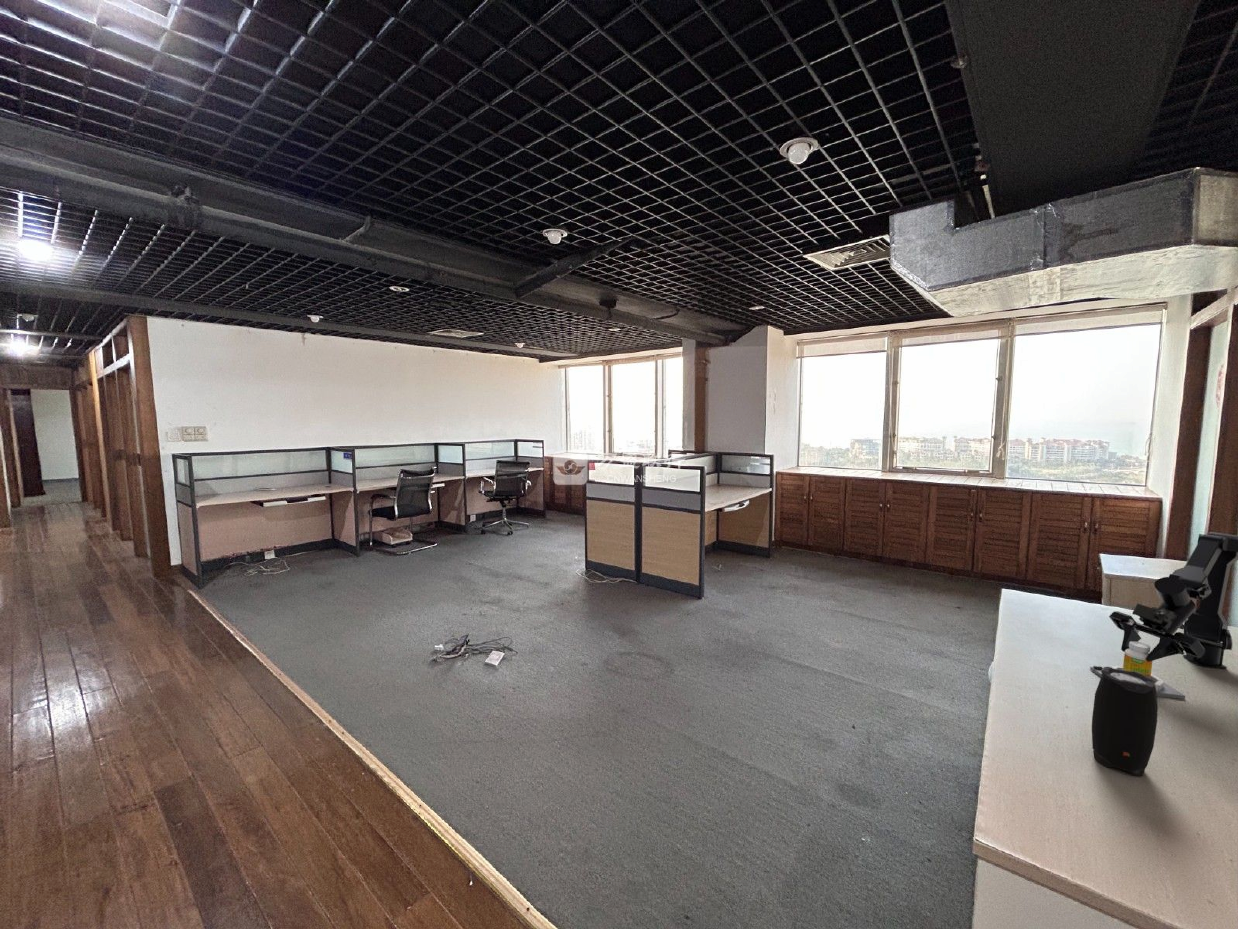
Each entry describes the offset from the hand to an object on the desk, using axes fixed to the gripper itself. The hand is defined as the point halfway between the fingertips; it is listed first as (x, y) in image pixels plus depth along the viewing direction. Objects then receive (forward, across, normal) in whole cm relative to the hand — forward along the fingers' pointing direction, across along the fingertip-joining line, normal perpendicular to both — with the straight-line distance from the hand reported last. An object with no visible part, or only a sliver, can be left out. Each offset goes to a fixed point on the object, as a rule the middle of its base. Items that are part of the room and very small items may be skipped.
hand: (1134, 655), depth 137 cm
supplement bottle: (+4, 0, +6) cm, 7 cm away
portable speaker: (+35, +26, -24) cm, 49 cm away
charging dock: (+5, 0, +7) cm, 8 cm away
